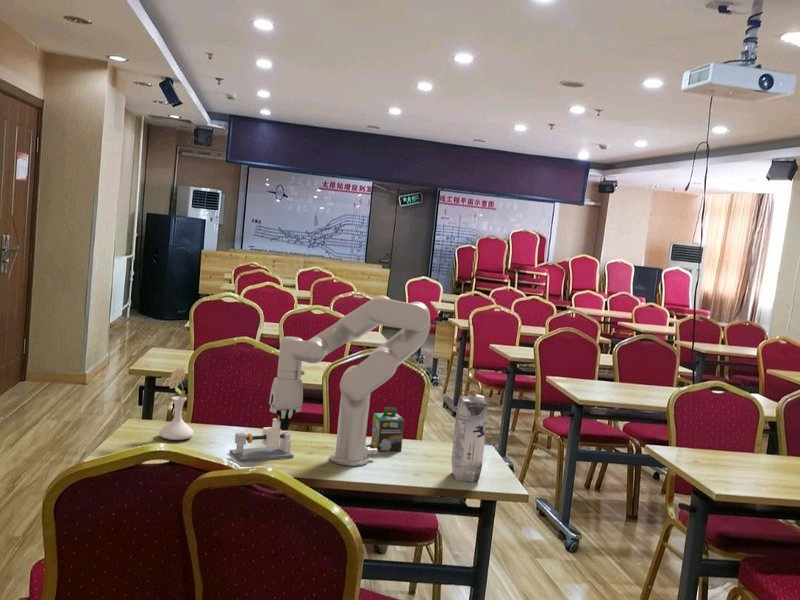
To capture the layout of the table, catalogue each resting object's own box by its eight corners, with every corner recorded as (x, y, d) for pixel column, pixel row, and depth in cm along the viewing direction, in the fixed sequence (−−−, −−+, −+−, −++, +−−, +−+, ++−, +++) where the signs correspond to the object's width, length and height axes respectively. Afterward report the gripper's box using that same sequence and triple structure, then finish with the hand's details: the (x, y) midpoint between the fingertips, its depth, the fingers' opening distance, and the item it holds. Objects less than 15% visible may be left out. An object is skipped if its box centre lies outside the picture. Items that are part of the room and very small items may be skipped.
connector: (241, 452, 236) (243, 432, 236) (244, 455, 234) (246, 435, 233) (233, 453, 235) (235, 433, 234) (237, 455, 232) (238, 435, 232)
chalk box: (394, 443, 267) (398, 403, 266) (402, 451, 258) (406, 410, 257) (369, 443, 264) (373, 403, 263) (376, 451, 255) (381, 409, 254)
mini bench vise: (281, 448, 247) (283, 428, 247) (293, 457, 239) (295, 436, 238) (229, 452, 238) (231, 431, 237) (240, 462, 229) (241, 440, 229)
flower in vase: (158, 433, 251) (163, 361, 249) (192, 433, 255) (197, 362, 253) (159, 444, 239) (164, 369, 237) (195, 444, 243) (201, 370, 241)
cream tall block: (273, 441, 243) (275, 418, 242) (279, 446, 238) (281, 422, 238) (261, 442, 240) (263, 418, 240) (267, 446, 236) (269, 422, 236)
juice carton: (453, 481, 231) (462, 397, 228) (449, 471, 241) (457, 390, 239) (481, 483, 231) (490, 399, 229) (475, 472, 242) (484, 392, 240)
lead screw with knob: (285, 438, 244) (286, 430, 244) (289, 441, 241) (290, 432, 241) (239, 442, 235) (240, 432, 235) (242, 444, 233) (243, 435, 233)
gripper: (305, 372, 247) (300, 425, 249) (263, 372, 239) (258, 427, 241) (314, 376, 241) (309, 431, 242) (271, 377, 233) (266, 433, 234)
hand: (283, 429), depth 241 cm, fingers closed
